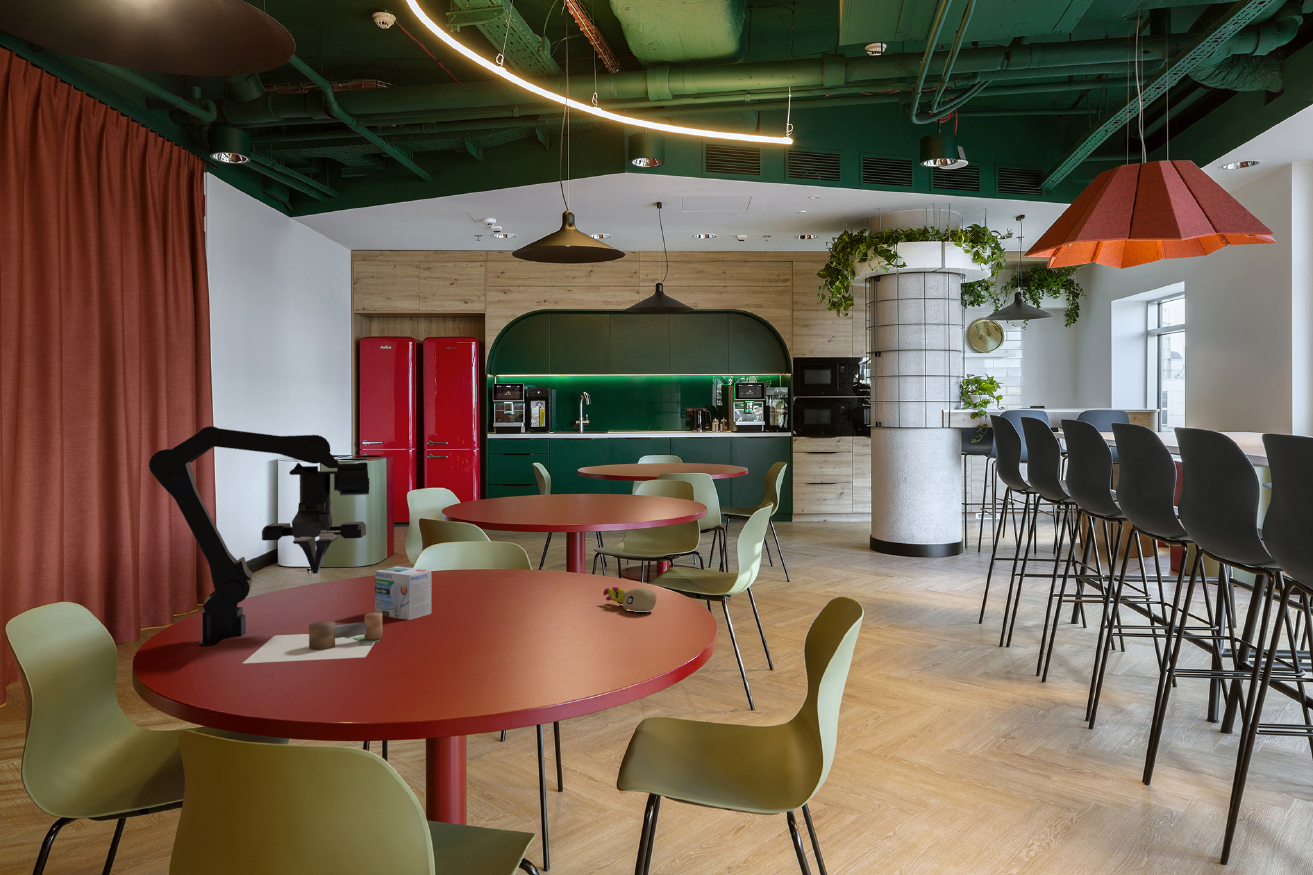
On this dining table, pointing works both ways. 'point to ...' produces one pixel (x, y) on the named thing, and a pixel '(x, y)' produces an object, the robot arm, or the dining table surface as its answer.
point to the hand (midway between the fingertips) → (315, 573)
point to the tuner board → (299, 650)
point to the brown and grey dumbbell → (344, 631)
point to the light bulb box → (403, 592)
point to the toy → (632, 598)
